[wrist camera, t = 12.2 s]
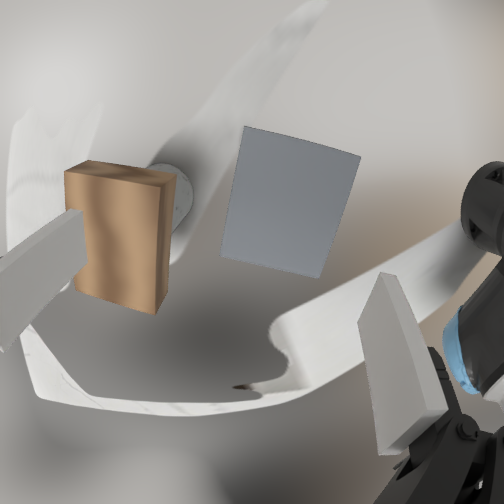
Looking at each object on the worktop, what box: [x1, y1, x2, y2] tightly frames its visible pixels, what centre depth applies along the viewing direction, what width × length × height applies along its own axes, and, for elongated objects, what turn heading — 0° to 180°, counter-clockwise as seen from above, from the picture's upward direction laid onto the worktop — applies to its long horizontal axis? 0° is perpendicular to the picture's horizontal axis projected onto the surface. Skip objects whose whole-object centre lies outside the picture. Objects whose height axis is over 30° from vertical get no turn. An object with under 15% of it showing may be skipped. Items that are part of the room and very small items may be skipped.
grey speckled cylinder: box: [145, 163, 194, 234], centre depth 38 cm, size 10×10×12 cm
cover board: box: [64, 160, 177, 315], centre depth 31 cm, size 11×15×4 cm
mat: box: [220, 126, 361, 279], centre depth 42 cm, size 16×20×1 cm
